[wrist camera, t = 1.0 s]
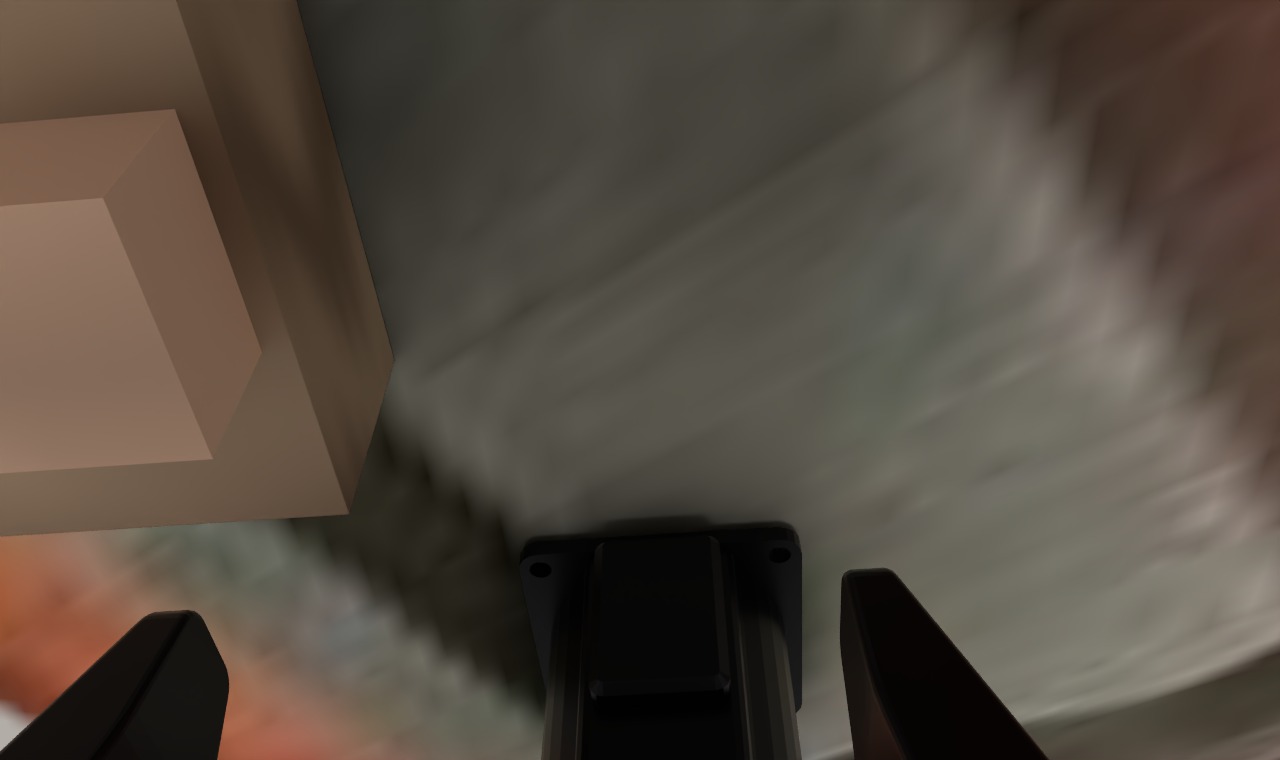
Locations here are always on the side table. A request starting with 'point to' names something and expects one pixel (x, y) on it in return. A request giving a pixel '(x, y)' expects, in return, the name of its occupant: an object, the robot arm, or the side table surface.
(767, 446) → the side table surface
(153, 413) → the tile
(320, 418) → the stepped beige slab
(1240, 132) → the side table surface
